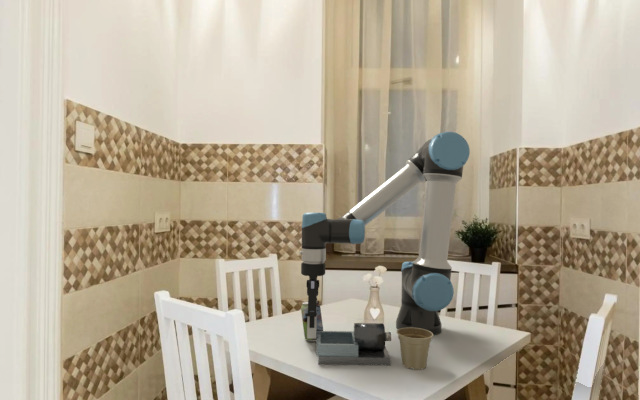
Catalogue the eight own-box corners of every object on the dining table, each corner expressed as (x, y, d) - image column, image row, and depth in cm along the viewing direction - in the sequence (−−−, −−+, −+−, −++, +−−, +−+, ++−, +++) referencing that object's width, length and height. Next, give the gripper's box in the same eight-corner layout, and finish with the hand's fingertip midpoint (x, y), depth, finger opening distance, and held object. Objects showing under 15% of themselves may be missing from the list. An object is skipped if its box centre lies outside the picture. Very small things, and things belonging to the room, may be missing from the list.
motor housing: (386, 348, 121) (386, 317, 121) (394, 365, 108) (394, 331, 108) (316, 347, 121) (317, 316, 121) (316, 364, 108) (316, 330, 108)
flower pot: (439, 365, 109) (439, 332, 109) (422, 376, 102) (422, 340, 102) (407, 356, 115) (408, 325, 115) (389, 365, 108) (389, 332, 108)
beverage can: (321, 344, 124) (322, 304, 124) (298, 342, 125) (298, 302, 125) (325, 337, 130) (326, 299, 130) (303, 336, 131) (303, 298, 131)
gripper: (303, 256, 140) (301, 319, 140) (299, 267, 115) (297, 344, 115) (325, 257, 140) (323, 320, 140) (325, 268, 115) (324, 344, 115)
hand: (312, 331), depth 127 cm, fingers open, 12 cm apart
